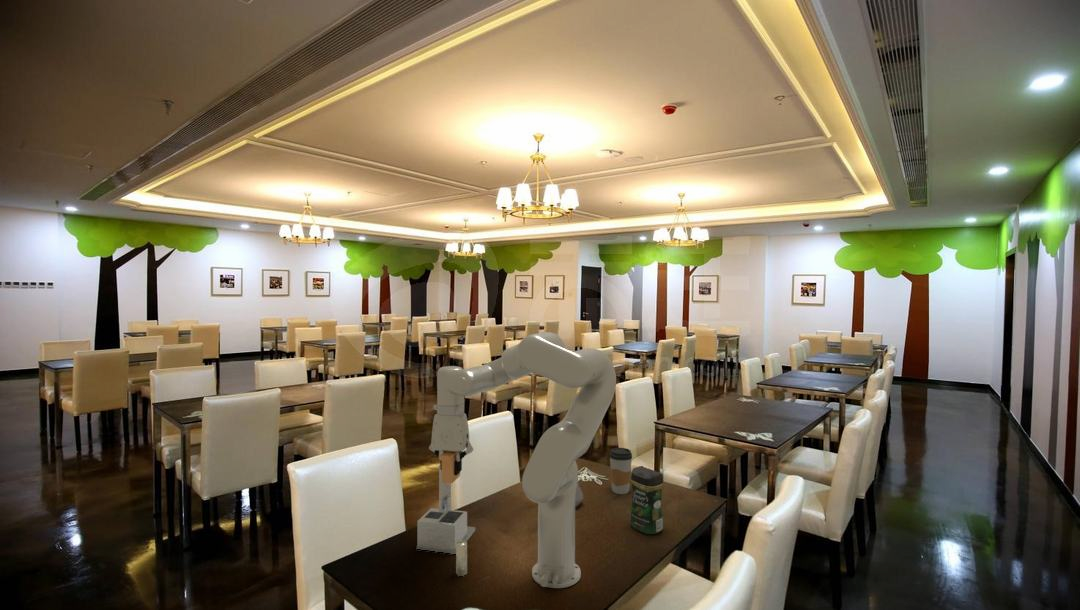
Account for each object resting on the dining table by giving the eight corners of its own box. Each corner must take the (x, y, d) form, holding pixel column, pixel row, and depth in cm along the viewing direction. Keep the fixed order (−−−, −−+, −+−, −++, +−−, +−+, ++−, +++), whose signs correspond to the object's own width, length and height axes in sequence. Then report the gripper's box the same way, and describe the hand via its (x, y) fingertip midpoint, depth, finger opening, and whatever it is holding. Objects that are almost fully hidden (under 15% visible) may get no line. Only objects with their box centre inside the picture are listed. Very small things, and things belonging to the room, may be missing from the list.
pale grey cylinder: (464, 577, 130) (464, 546, 130) (454, 575, 131) (454, 545, 131) (468, 571, 133) (468, 541, 133) (458, 570, 134) (458, 540, 133)
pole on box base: (456, 554, 141) (456, 483, 141) (416, 549, 144) (416, 479, 144) (475, 530, 156) (475, 465, 156) (438, 526, 159) (438, 462, 158)
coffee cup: (635, 489, 188) (635, 449, 188) (626, 497, 181) (627, 455, 181) (614, 485, 193) (614, 445, 192) (605, 492, 186) (605, 451, 185)
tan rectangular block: (450, 485, 142) (450, 456, 142) (439, 484, 143) (439, 455, 143) (462, 474, 151) (462, 447, 151) (452, 473, 151) (451, 446, 151)
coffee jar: (626, 526, 159) (626, 467, 158) (642, 519, 164) (643, 462, 163) (650, 538, 151) (650, 476, 151) (667, 530, 156) (667, 470, 156)
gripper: (418, 411, 144) (418, 475, 145) (473, 414, 141) (473, 480, 141) (430, 405, 152) (430, 466, 152) (482, 408, 148) (482, 471, 148)
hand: (451, 472), depth 147 cm, fingers closed on tan rectangular block, 3 cm apart
